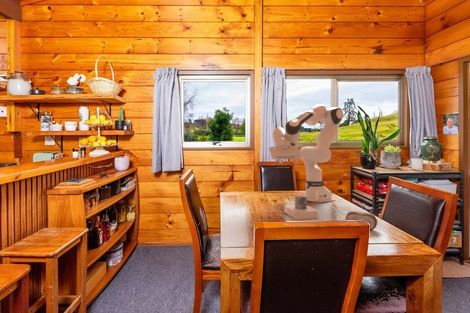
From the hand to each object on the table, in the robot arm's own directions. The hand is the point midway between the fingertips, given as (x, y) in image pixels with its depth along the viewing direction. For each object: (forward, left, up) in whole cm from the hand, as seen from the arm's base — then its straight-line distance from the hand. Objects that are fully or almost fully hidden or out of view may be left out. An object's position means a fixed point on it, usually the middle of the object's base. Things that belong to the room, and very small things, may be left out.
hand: (288, 162), depth 202 cm
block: (0, +19, -25) cm, 32 cm away
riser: (0, +19, -29) cm, 35 cm away
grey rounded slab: (-18, +51, -30) cm, 62 cm away
